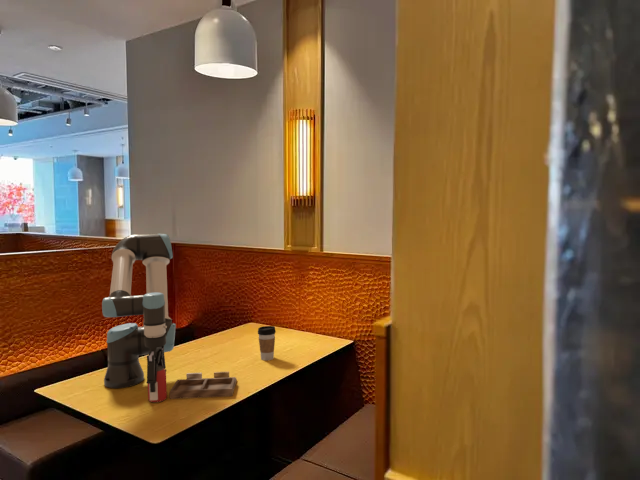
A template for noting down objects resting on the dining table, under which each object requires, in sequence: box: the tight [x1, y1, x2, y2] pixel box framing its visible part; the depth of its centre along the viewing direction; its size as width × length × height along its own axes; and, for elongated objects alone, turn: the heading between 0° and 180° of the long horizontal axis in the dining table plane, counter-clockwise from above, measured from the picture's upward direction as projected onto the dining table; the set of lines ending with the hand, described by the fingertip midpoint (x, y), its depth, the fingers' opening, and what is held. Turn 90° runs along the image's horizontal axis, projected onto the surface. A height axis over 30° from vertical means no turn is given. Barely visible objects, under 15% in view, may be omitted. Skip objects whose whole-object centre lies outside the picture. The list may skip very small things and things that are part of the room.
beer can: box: [147, 366, 168, 404], centre depth 166 cm, size 7×7×12 cm
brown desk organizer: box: [169, 371, 238, 400], centre depth 175 cm, size 23×16×4 cm
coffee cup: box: [257, 325, 277, 361], centre depth 211 cm, size 8×8×15 cm
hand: (157, 394), depth 166 cm, fingers open, 8 cm apart
